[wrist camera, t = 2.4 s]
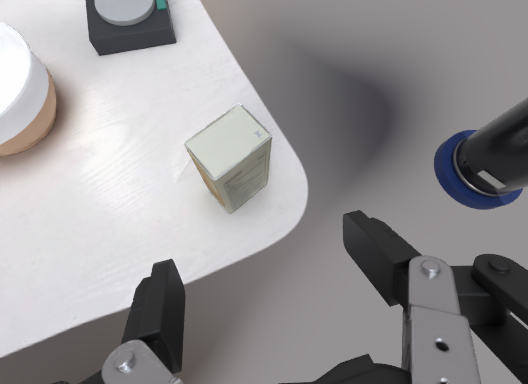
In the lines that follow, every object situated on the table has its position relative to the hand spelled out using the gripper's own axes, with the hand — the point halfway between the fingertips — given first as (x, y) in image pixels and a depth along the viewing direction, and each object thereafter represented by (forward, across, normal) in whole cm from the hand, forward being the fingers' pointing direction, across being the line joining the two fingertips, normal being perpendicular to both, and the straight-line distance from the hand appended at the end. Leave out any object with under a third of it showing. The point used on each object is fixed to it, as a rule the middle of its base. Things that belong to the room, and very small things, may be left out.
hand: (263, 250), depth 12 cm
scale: (+42, +9, -15) cm, 45 cm away
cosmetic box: (+21, 0, +6) cm, 22 cm away
